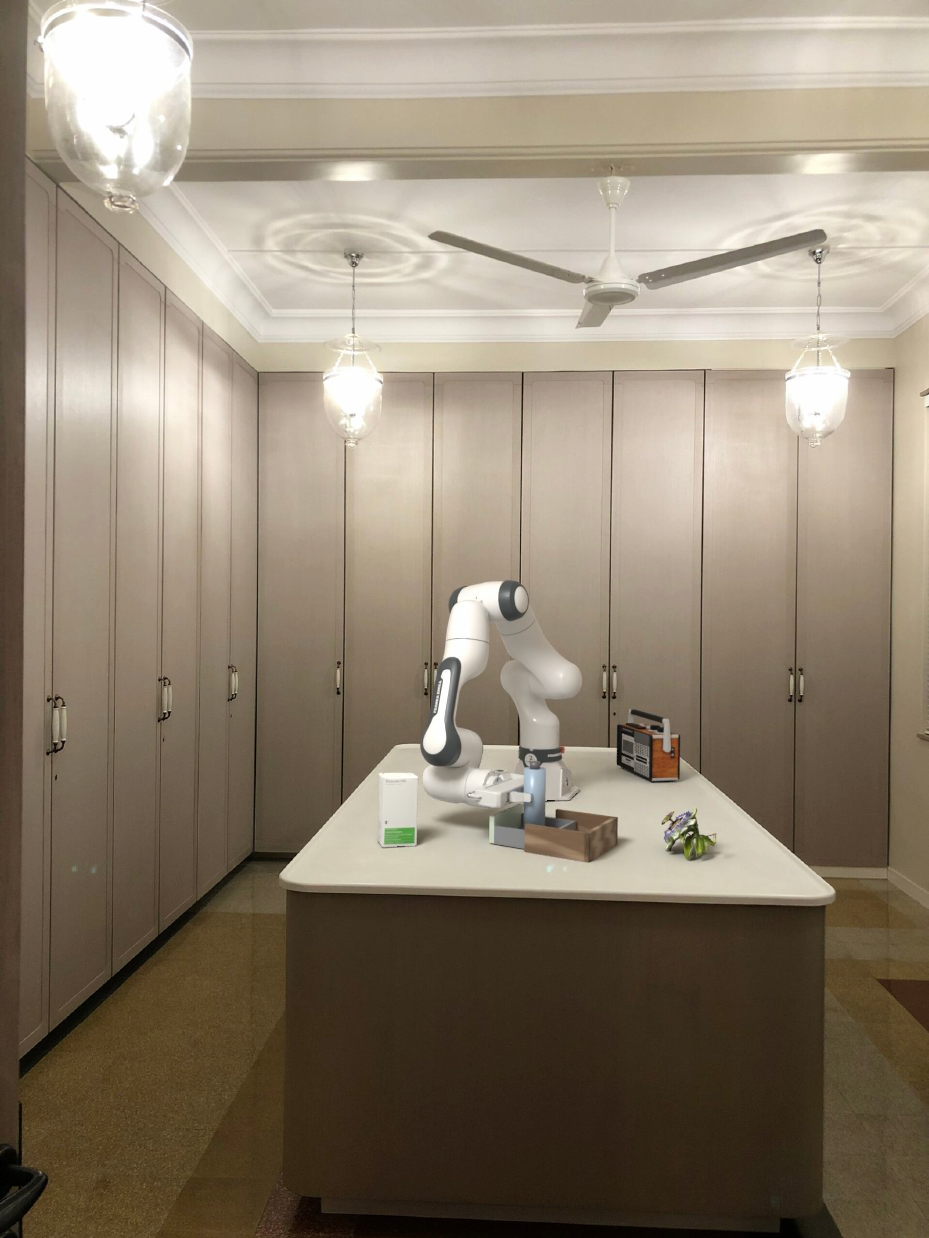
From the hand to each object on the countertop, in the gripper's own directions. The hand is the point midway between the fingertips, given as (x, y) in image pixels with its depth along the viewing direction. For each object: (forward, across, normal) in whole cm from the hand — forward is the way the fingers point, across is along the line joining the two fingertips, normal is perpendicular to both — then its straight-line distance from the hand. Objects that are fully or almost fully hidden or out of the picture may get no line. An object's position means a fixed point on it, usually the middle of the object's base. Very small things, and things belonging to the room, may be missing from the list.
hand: (538, 795), depth 196 cm
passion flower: (+32, +10, +11) cm, 35 cm away
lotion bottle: (-1, 0, +8) cm, 8 cm away
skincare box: (-26, -18, +11) cm, 34 cm away
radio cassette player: (-5, +93, +11) cm, 94 cm away
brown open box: (+8, 0, +11) cm, 13 cm away
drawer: (0, 0, +11) cm, 11 cm away
